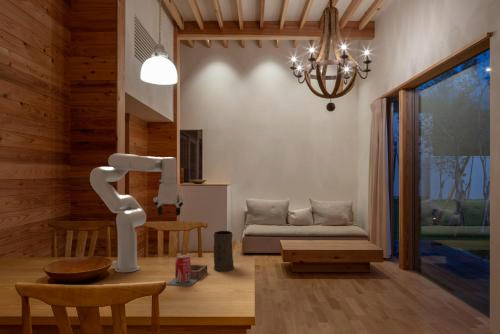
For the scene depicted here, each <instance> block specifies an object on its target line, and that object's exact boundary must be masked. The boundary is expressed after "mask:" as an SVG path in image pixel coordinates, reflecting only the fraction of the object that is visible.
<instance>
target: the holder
mask: <svg viewBox="0 0 500 334" xmlns="http://www.w3.org/2000/svg"><path fill="white" fill-rule="evenodd" d="M207 274H208V265H207V264H192V263H191V275H190V279H198V281H199V280H201V279H202V278H203V277H204V276H206V275H207Z"/></svg>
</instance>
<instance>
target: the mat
mask: <svg viewBox="0 0 500 334" xmlns="http://www.w3.org/2000/svg"><path fill="white" fill-rule="evenodd" d="M198 281H199V280H198V279H190V280H189V281H188V282H186V283H178V282H177V281H176V278H175V277H174V278H173V279H171V280H169V281H168V282H167V283H166V284H167V285H166V286H174V287H175V286H177V287H187V288H188V287H189V288H191V287H192V286H193V285H194V284H195V283H197V282H198Z"/></svg>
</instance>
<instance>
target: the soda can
mask: <svg viewBox="0 0 500 334" xmlns="http://www.w3.org/2000/svg"><path fill="white" fill-rule="evenodd" d="M191 264H192V262H191V257H190V255H189V254H179V255H177V256H176V259H175V265H174V266H175V267H174V268H175V270H174V271H175V272H174V273H175V276H174V278H176V281H177V282H178V283H186V282H188V281H189V280H190V275H191Z"/></svg>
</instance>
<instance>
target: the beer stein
mask: <svg viewBox="0 0 500 334" xmlns="http://www.w3.org/2000/svg"><path fill="white" fill-rule="evenodd" d="M233 256H234V255H233V232H232V231H230V230H218V231H215V232H214V233H213V264H214V266H213V269H214V271H217V272H223V273H224V272H230V271H232V270H233V269H234V268H235V267H234V258H233Z"/></svg>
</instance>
